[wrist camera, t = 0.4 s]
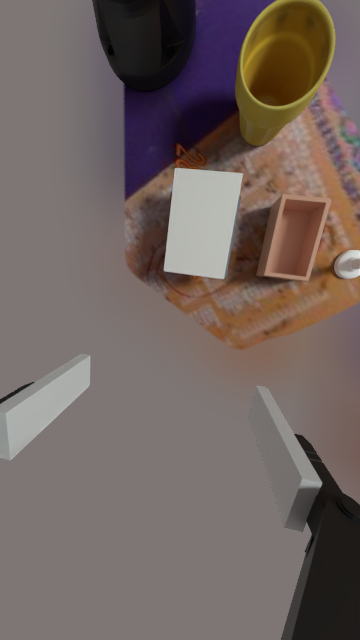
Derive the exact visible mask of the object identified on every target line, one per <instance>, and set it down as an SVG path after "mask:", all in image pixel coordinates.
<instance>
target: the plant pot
mask: <svg viewBox="0 0 360 640" xmlns="http://www.w3.org/2000/svg"><path fill="white" fill-rule="evenodd" d="M334 49H335V29H334V24H333V21H332V18H331V16H330V14H329V12H328V10H327V9H326V7H325V6H324V5H323V4H322V3H321V2H320V1H319V0H276V1H275V2H273V3H272V4H270V5H269V6H268V7H266V8H265V9H264V10H263V11H262V12H261V13H260V14H259V15H258V17H257V18H256V19H255V20H254V22H253V23H252V25H251V26H250V28H249V30H248V32H247V34H246V36H245V38H244V41H243V44H242V47H241V50H240V55H239V61H238V67H237V74H236V83H235V94H236V101H237V105H238V108H239V111H240V131H241V134H242V137H243V138H244V140H245V141H246V142H247V143H249V144H251V145H254V146H261V145H264V144H266V143H268V142H270V141H271V140H272V139H273V138H274V137H275V136H276V135H277V134H278V133H279V132H280V130H281V129H282V128H283V127H284V126H285V125H286V124H288V123H290V122H291V121H293V120H294V119H295V118H296V117H298V116H299V115H300V114H301V113H302V111H303V110H304V109H305V108H306V107H307V105H308V104H309V102H310V101H311V99H312V98H313V96H314V95H315V93H316V92H317V90H318V88H319V87H320V85H321V83H322V82H323V80H324V78H325V76H326V74H327V72H328V70H329V67H330V65H331V62H332V58H333V54H334Z"/></svg>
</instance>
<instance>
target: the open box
mask: <svg viewBox="0 0 360 640" xmlns="http://www.w3.org/2000/svg"><path fill="white" fill-rule="evenodd" d="M331 200H332V198H321V197H310V196H299V195H288V194H282V195H281V197H280V198H279V199H278V200H277V201H276V202H275V203H274V204H273V205H272V206H271V209H270V214H269V218H268V223H267V227H266V232H265V237H264V241H263V246H262V250H261V255H260V259H259V264H258V269H257V273H256V276H260V277H268V278H275V279H283V280H291V281H309V278H310V274H311V271H312V267H313V264H314V260H315V257H316V253H317V250H318V246H319V243H320V239H321V235H322V232H323V228H324V225H325V221H326V218H327V214H328V211H329V207H330V204H331Z"/></svg>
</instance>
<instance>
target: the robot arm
mask: <svg viewBox="0 0 360 640" xmlns="http://www.w3.org/2000/svg"><path fill="white" fill-rule="evenodd" d="M92 1H93V6H94V12H95V17H96V23H97V28H98V33H99V37H100V41H101V44H102V47H103V49H104V52H105V54H106V56H107V59H108V61H109V63H110V66H111V67H112V69H113V71H114V73H115V74H116V75H117V77H119V79H120V80H121V81H122V82H124V83H125V84H126V85H128V86H129V87H131V88H134V89H137V90H142V91H150V90H155V89H158V88H161V87H163V86H165V85H166V84H168V83H169V82H170V81H172V80H173V79H174V78H175V77H176V76H177V75H178V74H179V72H180V71H181V70H182V68H183V67H184V65H185V64H186V62H187V60H188V58H189V55H190V53H191V50H192V47H193V43H194V38H195V31H196V9H195V0H92ZM89 386H90V355H85V354H80V355H79V356H77V357H75V358H74V359H72V360H71V361H69V362H67V363H66V364H64V365H62V366H61V367H59V368H58V369H56V370H54V371H53V372H51V373H50V374H48V375H46V376H45V377H43V378H42V379H40V380H38V381H37V382H32V383H29V384H26V385H24V386H22V387H20V388H18V389H17V390H15V391H14V392H12V393H10V394H8V395H7V396H5V397H3V398H2V399H0V458H3V459H8V460H11V459H12V458H13V457H14V456H16V454H18V452H20V451H21V450H22V449H23V448H24V447H25V446H26V445H27V444H28V443H29V442H30V441H31V440H33V439H34V438H35V437H36V436H37V435H38V434H39V433H40V432H41V431H42V430H43V429H44V428H45V427H46V426H47V425H48V424H49V423H51V422H52V420H54V419H55V418H56V417H57V416H58V415H59V414H60V413H61V412H62V411H63V410H64V409H65V408H66V407H67V406H68V405H70V404H71V403H72V402H73V401H74V400H75V399H76V398H77V397H78V396H79V395H80V394H81V393H82V392H83V391H84V390H85V389H86V388H88V387H89ZM248 417H249V420H250V423H251V427H252V430H253V433H254V436H255V439H256V442H257V445H258V448H259V451H260V454H261V457H262V461H263V464H264V466H265V469H266V473H267V476H268V479H269V482H270V485H271V488H272V491H273V494H274V497H275V500H276V504H277V507H278V510H279V513H280V516H281V519H282V522H283V525H284V527H285V528H289V529H293V530H298V531H301V532H303V530H304V527H305V525H306V522H307V523H308V526H309V528H310V530H311V533H312V536H311V538H310V540H309V543H308V545H307V548H306V550H305V552H306V555H305V558H304V562H303V565H302V569H301V572H300V575H299V579H298V583H297V586H296V589H295V593H294V596H293V600H292V603H291V607H290V610H289V613H288V617H287V620H286V624H285V627H284V631H283V634H282V638H281V640H360V505H359V504H358V503H357V502H356V501H355V500H353V499H352V498H351V497H349V496H347V495H345V494H344V493H342V491H341V490H340V488H339V486H338V485H337V483H336V482H335V480H334V479H333V478H332V476H331V474H330V473H329V471H328V470H327V468H326V467H325V465H324V464H323V463H322V460H321V459H320V457H319V456H318V455H317V453H316V451H315V450H314V448H313V446H312V445H311V444H310V443H309V442H308V441H307V440H306V439H305V438H304V437H303V436H302V435H297V434H294V433H293V432H292V430H291V428H290V426H289V425H288V423H287V421H286V420H285V418H284V416H283V414H282V413H281V411H280V409H279V408H278V406H277V404H276V403H275V401H274V399H273V397H272V396H271V394H270V392H269V390H268V389H267V388H266V387H261V386H256V389H255V392H254V396H253V401H252V404H251V408H250V412H249V416H248Z"/></svg>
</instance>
